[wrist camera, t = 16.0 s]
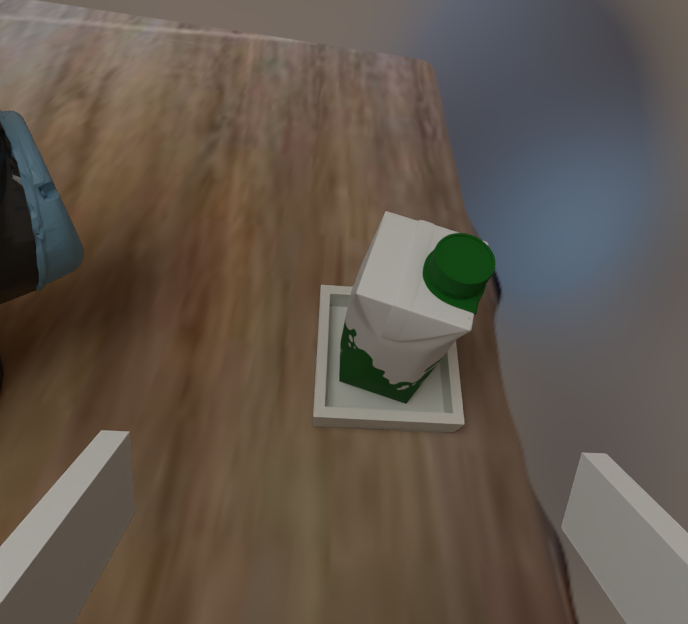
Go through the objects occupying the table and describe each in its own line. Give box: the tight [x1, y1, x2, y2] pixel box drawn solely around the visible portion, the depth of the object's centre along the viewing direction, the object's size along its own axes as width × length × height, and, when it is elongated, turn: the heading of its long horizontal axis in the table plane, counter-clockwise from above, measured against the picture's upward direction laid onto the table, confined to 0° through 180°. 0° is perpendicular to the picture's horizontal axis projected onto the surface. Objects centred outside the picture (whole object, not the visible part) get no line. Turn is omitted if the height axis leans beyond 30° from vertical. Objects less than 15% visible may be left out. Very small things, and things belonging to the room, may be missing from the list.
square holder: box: [312, 285, 465, 433], centre depth 45 cm, size 14×14×4 cm
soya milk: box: [339, 211, 495, 404], centre depth 37 cm, size 9×9×20 cm
